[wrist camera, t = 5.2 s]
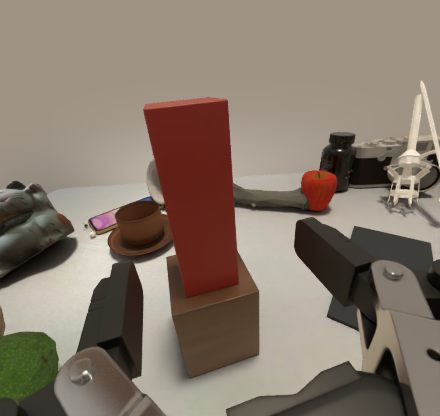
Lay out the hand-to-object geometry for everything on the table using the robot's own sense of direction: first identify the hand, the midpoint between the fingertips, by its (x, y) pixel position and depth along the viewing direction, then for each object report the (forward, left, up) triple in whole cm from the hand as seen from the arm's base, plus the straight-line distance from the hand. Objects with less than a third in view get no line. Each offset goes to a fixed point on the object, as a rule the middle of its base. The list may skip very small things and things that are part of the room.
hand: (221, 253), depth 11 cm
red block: (+5, -4, -8) cm, 10 cm away
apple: (+3, -36, -17) cm, 40 cm away
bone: (+15, -33, -17) cm, 40 cm away
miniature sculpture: (-5, -57, +2) cm, 57 cm away
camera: (-9, -53, -17) cm, 57 cm away
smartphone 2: (+40, -9, -17) cm, 44 cm away
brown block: (+5, -4, -17) cm, 18 cm away
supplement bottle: (+3, -48, -17) cm, 51 cm away
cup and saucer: (+26, -12, -17) cm, 33 cm away
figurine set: (+40, -8, -15) cm, 44 cm away
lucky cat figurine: (+42, +2, -17) cm, 45 cm away
